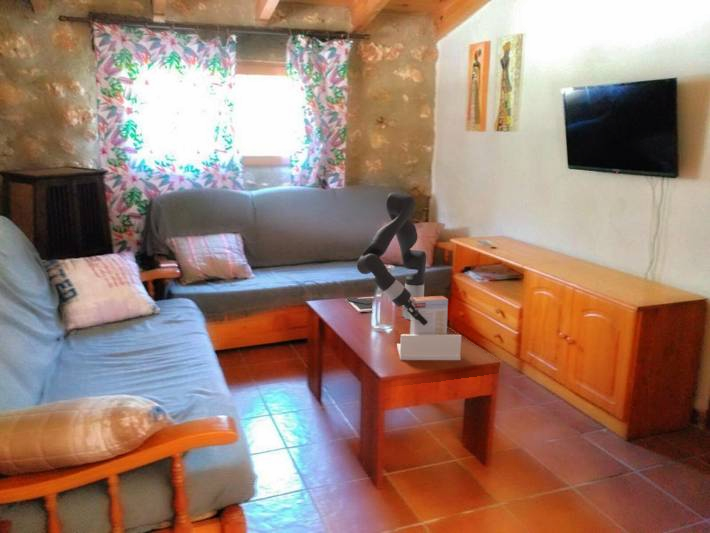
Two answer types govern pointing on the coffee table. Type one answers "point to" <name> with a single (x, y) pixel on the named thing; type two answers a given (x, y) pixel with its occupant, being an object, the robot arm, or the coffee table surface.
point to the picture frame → (361, 303)
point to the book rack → (429, 347)
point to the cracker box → (430, 315)
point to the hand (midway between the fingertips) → (424, 320)
